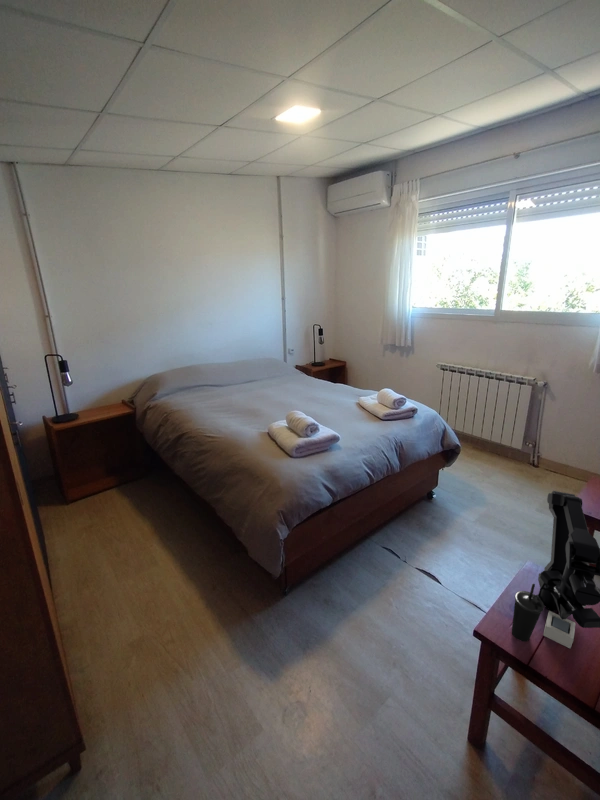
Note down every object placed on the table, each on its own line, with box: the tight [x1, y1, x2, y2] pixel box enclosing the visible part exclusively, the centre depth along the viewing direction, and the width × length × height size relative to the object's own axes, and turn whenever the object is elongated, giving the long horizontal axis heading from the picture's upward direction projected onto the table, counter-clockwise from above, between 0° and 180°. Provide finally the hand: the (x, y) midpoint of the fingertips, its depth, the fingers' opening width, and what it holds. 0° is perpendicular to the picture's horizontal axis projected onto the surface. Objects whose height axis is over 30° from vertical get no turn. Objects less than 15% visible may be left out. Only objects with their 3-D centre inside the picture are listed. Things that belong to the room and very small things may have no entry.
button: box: [551, 617, 569, 633], centre depth 116 cm, size 4×4×3 cm
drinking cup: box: [511, 583, 545, 643], centre depth 113 cm, size 8×8×20 cm
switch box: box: [542, 610, 576, 649], centre depth 116 cm, size 7×7×4 cm
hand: (562, 618), depth 114 cm, fingers closed
